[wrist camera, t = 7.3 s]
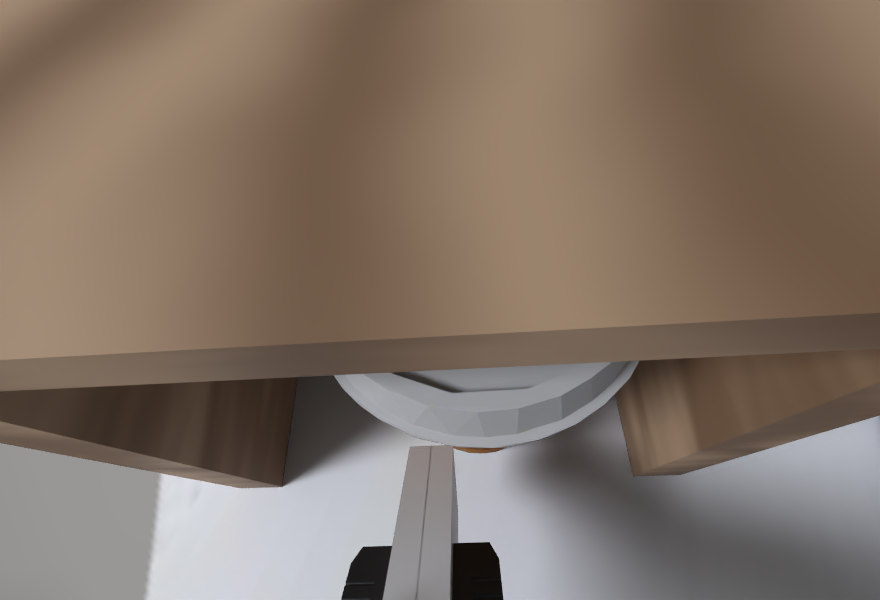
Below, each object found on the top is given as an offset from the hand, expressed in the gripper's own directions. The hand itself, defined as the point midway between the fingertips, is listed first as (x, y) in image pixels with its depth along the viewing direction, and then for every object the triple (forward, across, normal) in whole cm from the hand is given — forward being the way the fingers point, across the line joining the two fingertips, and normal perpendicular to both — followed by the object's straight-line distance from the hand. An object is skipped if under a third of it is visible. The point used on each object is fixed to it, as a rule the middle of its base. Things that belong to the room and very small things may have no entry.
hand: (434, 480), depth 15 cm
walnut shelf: (+8, 0, +1) cm, 8 cm away
